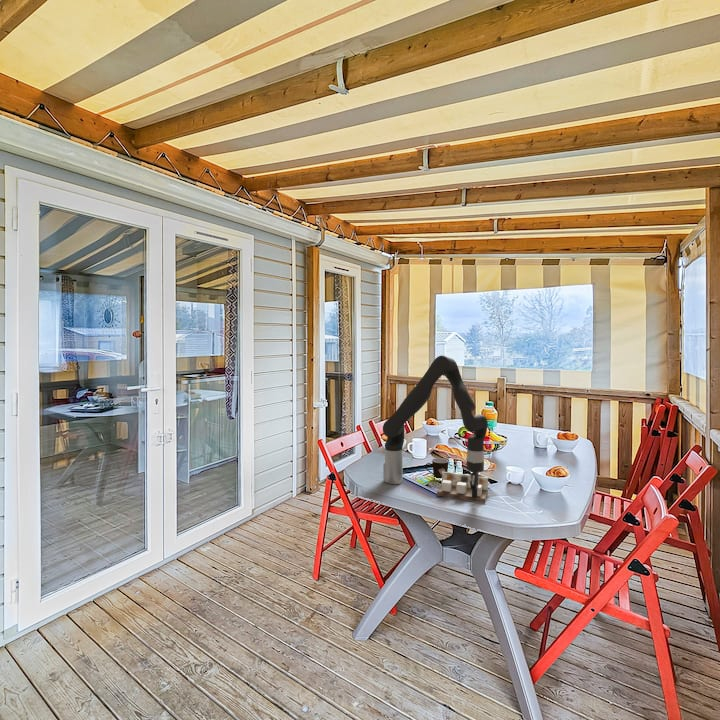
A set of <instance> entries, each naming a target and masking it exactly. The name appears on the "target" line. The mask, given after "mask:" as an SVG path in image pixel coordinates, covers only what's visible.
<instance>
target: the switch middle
mask: <svg viewBox="0 0 720 720" xmlns="http://www.w3.org/2000/svg"><path fill="white" fill-rule="evenodd" d="M466 490H467V483H464V482H458V483H457V488H456V493H461V494H465V493H466Z"/></svg>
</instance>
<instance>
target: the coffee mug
mask: <svg viewBox="0 0 720 720" xmlns="http://www.w3.org/2000/svg"><path fill="white" fill-rule="evenodd" d="M431 462H432V463H431ZM431 462H427V463H426V464H425V467H424V468H425V470H426V471H427V472H429V473H430V474H432V476H433V478H434V477H436V478H442V471H443V472H448V469H449V460H448V459H447V458H441V457H435V458H432V459H431ZM427 465H430V466H431V467H432V471H430V470H429V469H428V468H427Z"/></svg>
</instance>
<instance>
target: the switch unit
mask: <svg viewBox="0 0 720 720" xmlns="http://www.w3.org/2000/svg"><path fill="white" fill-rule="evenodd" d="M443 480H449V481H452V489H451V491H450V492H447V491H442V483H441V484H440V486H439V487H438V489H437V491H436V496H437V497H443V498H449V499H456V500H461V501H463V500H464V501H469V502H475V503H484V504H486V501H487V499H488V498H487V497H488V494H489V477H488V476H481V475H480V477H479V485H482V494H481V496H477V498H472V490H471V486H470V474H465V473H456V472H451V471H447V472H443V471H442V481H443ZM442 481H441V482H442ZM458 482H464V483H467V490H466V493H465V494H461V493H456V488H457V483H458Z"/></svg>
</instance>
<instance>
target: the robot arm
mask: <svg viewBox="0 0 720 720" xmlns="http://www.w3.org/2000/svg"><path fill="white" fill-rule="evenodd" d="M443 376H444V377H445V378H446V379H447V380H448V382H449V384H450V386H451V389H452V394H453V395H452V396H453V398H454V401H455V403H456V405H457V407H458V409H459V411H460V415H461V419H462V423H463V426H464V428H465V429H466V430H467V431H468V432H470V433H472V432H473V433H472V434H471V435H470V436H468V437H467V442H466V443H467V444H466V445H467V448H466V465H465V467H466V470H467V471H468V472H470V474H469V475H470V486H471V490H472V498H477V489H478V485H479V477H480V476H481V472H484V470H485V452H484V451H485V448H484V446H485V445H484V444H485V443H484V441H485V438H486V436H487V435H486V434H487V431H488V426H489V422H488V419H487V417H486V416H485V415H483V414H474V415H473V412H474V411H475V410H476V405H475V403H474V401H473V399H472V396H471V394H470V393H469V392H468V390H467V387H466V385H465V383H464V381H463V378H462V375H461V372H460V369H459V366H458V364H457V362H456V361H455V359H453V358H451V357H449V356H447V355H439V356H437V357H435V359H434V360H433V361H432V363H430V366H429V367H428V368H427V370H426V372H425V373H424V375H423V376H422V377H421V378H420V379H419V380H418V382H417V383H416V385H415V386H414V387H413V388H412V389H411V391H410V392H409V393H408V395H407V396H406V397H405V398H404V399H403V401H402V402H401V403H400V405H399V407H398V408H397V409H396V411H395V412H393V414H392V415H391V416H390V417H389V418H388V419H387V420H385V422H384V423H383V425H382V433H383V435H384V436H385V437H387V438H386V440H385V443H384V463H383V468H382V469H383V475H382V476H383V483H386V484H390V485H400V484H402V483H403V473H404V472H403V469H404V468H403V467H404V466H403V464H404V463H403V462H404V461H403V459H404V458H403V454H404V453H403V452H404V451H403V449H404V447H403V446H404V443H405V424H406V423H407V421H408V420H410V419H411V418H412V417H413V416H414V415H416V414H417V413H418V412H419V411H420V410H421V409H422V408H423V407H424V405H425V404H426V403H427V402H428V400H429V399H430V397H431V395H432V392H433V391H432V390H433V388H434V385H435V384H436V382H437V381H438V380H439V379H440V378H441V377H443Z"/></svg>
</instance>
